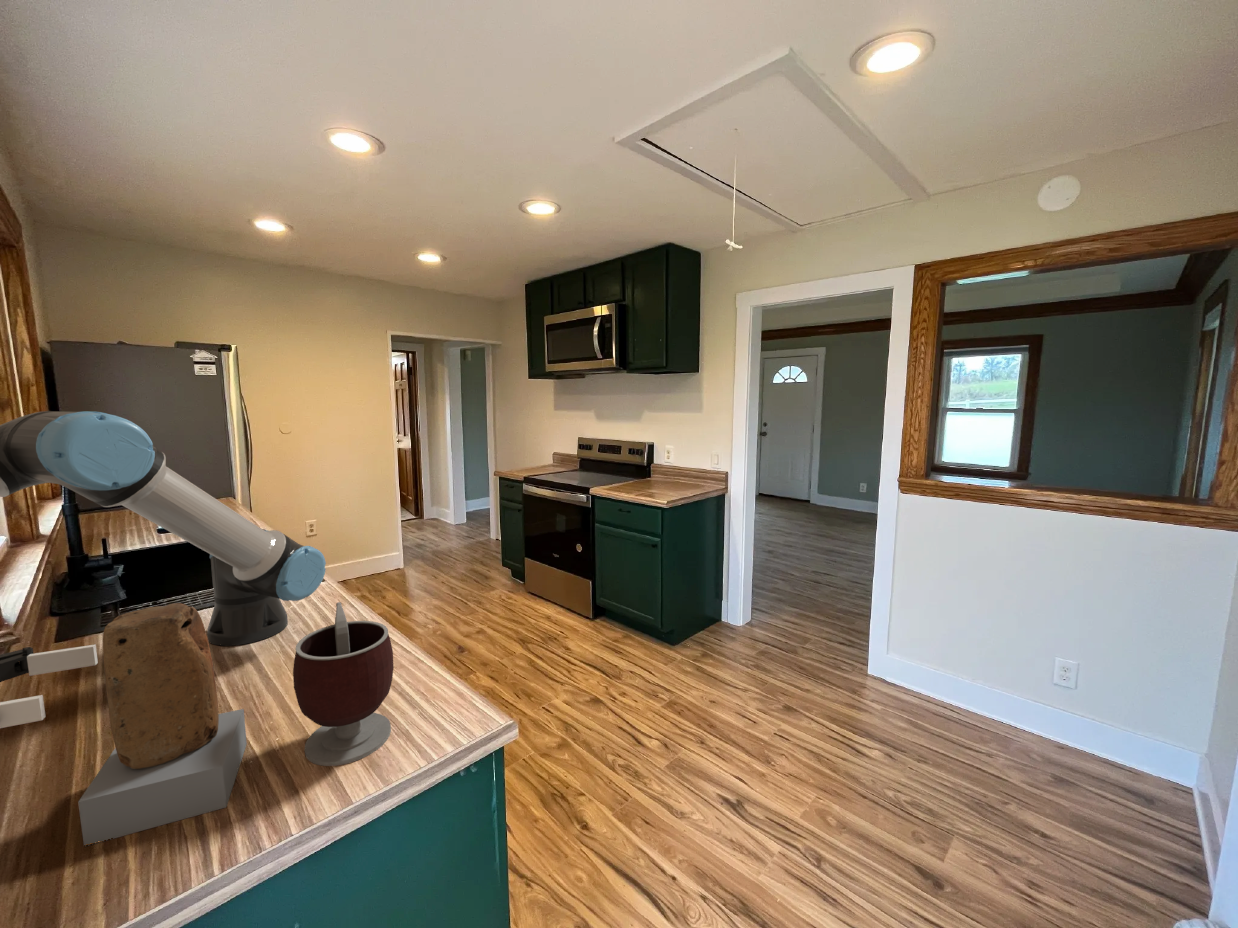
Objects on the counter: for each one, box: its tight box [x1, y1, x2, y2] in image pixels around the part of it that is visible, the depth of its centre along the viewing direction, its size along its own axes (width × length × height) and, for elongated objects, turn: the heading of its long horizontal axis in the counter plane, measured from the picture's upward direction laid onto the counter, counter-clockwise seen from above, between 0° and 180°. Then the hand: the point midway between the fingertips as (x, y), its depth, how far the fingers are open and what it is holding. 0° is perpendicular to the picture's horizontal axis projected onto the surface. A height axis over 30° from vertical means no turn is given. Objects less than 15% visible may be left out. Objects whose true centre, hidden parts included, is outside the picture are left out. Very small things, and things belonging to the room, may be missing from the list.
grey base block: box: [78, 708, 248, 846], centre depth 71 cm, size 14×14×6 cm
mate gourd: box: [292, 601, 395, 767], centre depth 82 cm, size 16×14×20 cm
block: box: [102, 602, 220, 769], centre depth 70 cm, size 11×8×20 cm
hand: (71, 678), depth 65 cm, fingers open, 13 cm apart
